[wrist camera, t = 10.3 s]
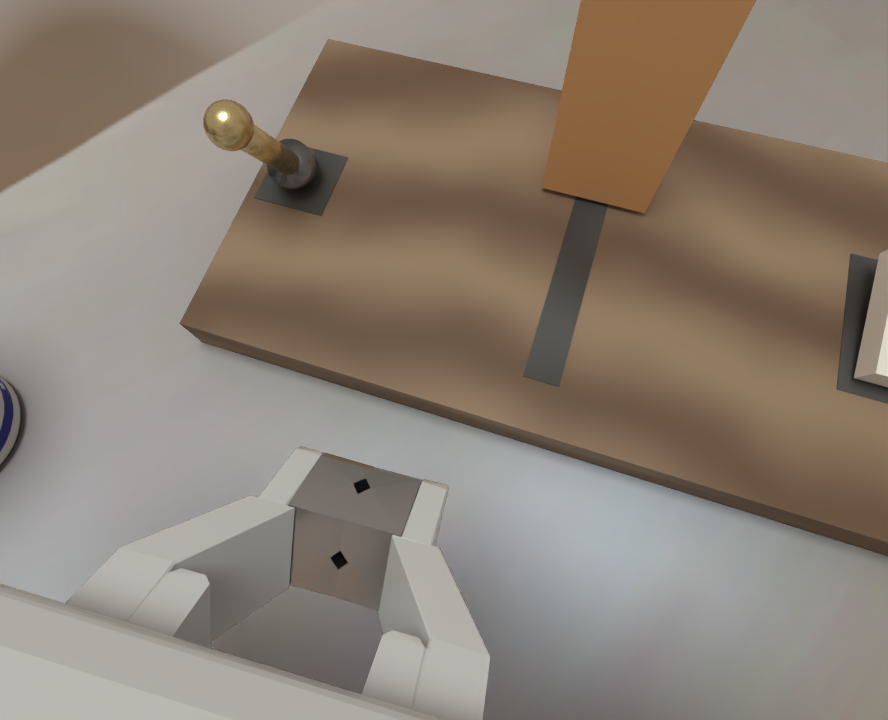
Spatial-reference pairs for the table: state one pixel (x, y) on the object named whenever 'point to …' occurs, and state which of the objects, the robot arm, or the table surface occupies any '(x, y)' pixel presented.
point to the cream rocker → (876, 330)
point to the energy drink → (8, 419)
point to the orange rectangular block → (635, 93)
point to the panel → (573, 290)
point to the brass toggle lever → (261, 145)
